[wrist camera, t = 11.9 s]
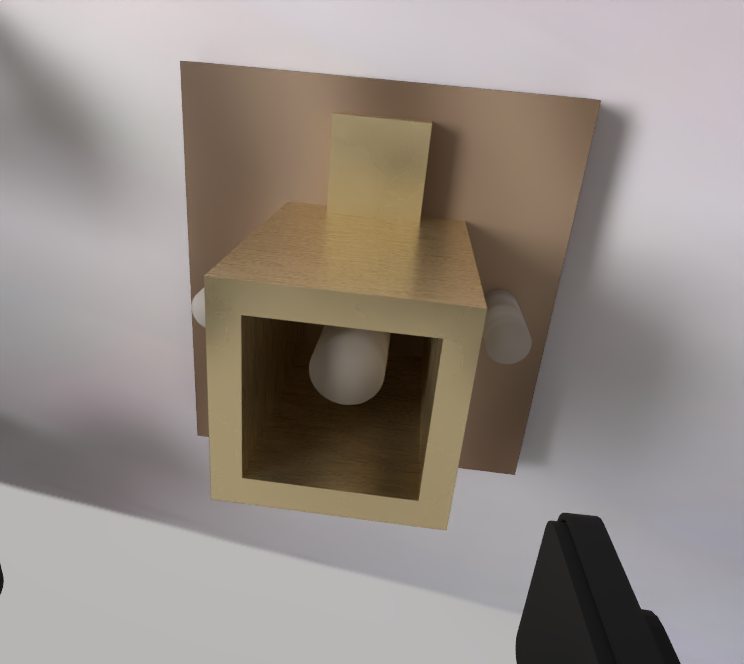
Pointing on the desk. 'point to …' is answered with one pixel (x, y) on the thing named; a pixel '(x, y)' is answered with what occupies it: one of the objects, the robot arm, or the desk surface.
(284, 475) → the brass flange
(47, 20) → the desk surface
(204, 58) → the desk surface
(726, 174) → the desk surface
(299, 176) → the post dock
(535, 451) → the desk surface
